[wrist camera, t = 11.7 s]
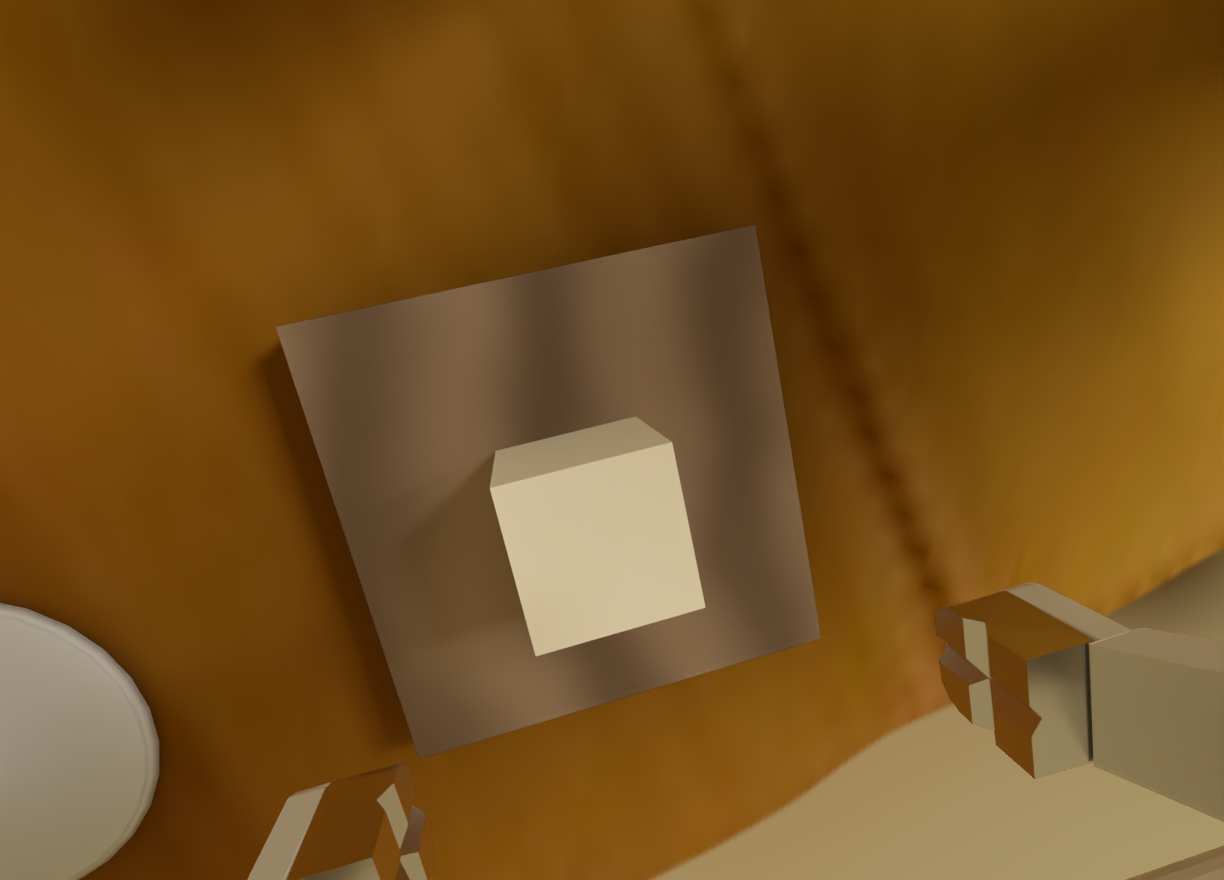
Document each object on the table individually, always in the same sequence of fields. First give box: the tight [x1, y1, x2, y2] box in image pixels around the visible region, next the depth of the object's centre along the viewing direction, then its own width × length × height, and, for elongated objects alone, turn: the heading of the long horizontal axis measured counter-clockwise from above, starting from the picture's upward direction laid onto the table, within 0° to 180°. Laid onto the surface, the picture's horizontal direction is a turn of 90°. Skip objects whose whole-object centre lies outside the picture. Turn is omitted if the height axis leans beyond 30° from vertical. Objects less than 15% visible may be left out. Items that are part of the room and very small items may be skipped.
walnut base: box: [276, 225, 821, 759], centre depth 22 cm, size 16×16×2 cm
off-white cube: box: [490, 417, 706, 656], centre depth 19 cm, size 5×5×5 cm
